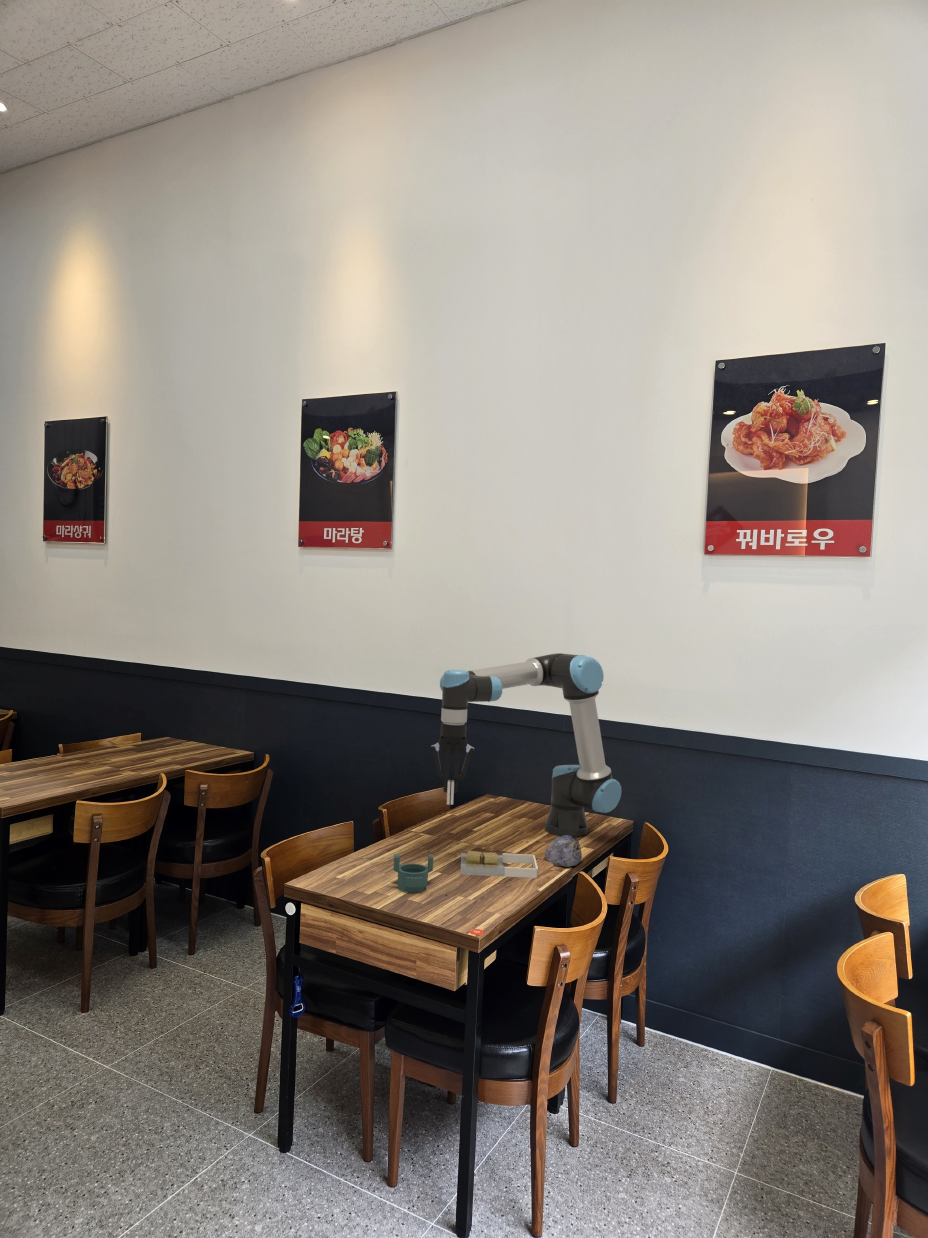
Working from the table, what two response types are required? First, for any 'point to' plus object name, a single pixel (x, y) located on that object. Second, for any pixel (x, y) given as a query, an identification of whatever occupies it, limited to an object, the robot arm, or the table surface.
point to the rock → (564, 851)
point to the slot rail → (482, 867)
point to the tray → (520, 871)
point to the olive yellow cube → (474, 857)
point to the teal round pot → (412, 875)
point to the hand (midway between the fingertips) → (450, 803)
